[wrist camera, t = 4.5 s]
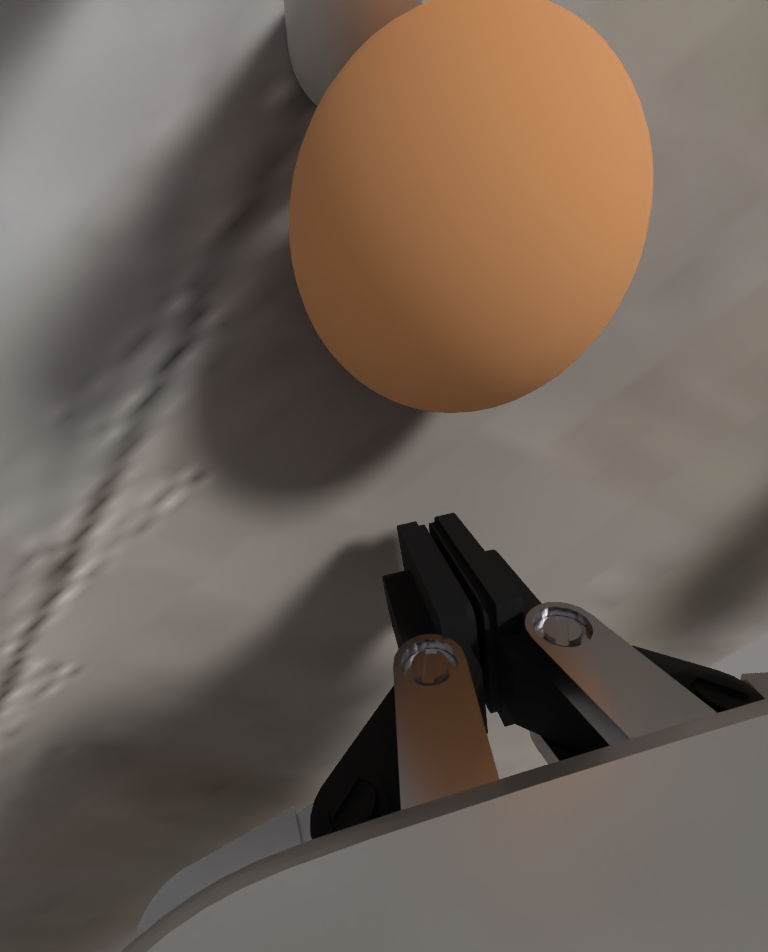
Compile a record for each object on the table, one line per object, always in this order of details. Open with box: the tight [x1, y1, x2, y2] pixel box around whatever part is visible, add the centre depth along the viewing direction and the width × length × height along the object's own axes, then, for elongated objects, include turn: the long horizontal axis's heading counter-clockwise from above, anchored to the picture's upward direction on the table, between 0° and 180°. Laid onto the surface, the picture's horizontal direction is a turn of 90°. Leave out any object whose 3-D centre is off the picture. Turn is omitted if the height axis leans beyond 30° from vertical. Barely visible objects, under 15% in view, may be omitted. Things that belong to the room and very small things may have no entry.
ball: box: [289, 0, 654, 413], centre depth 7 cm, size 6×6×6 cm
